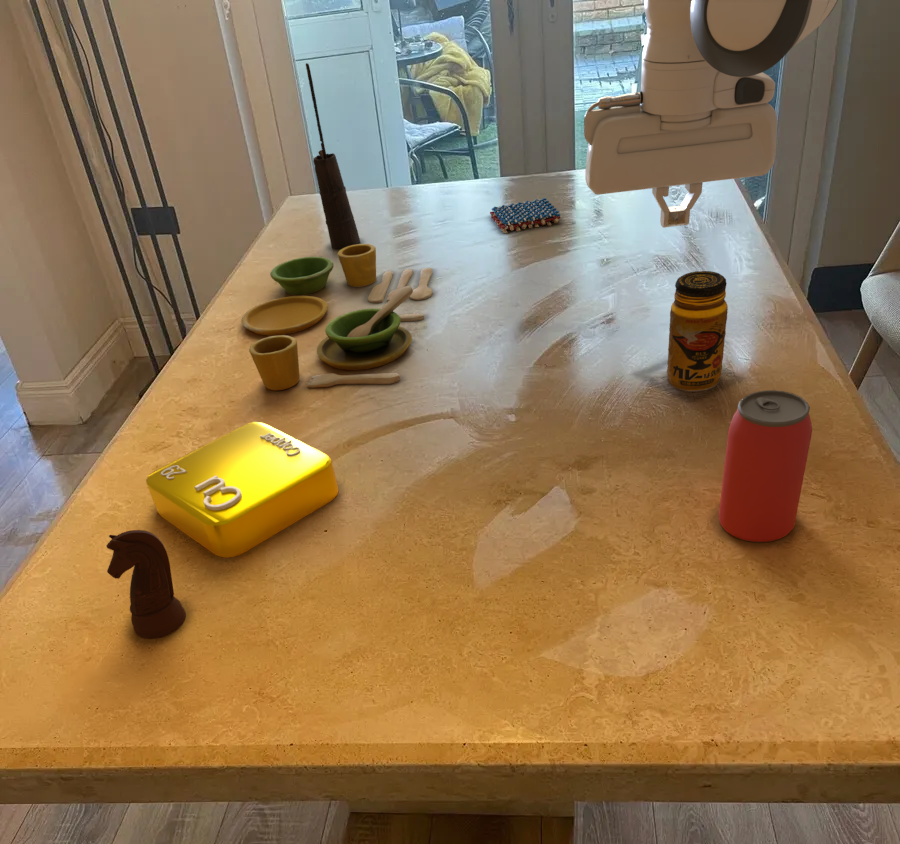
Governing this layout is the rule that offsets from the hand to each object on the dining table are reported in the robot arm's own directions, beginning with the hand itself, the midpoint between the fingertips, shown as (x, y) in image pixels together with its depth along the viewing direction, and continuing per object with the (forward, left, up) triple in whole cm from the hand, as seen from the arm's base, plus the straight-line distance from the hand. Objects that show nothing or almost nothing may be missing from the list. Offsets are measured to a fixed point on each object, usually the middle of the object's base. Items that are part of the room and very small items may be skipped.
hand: (674, 225), depth 97 cm
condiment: (0, +10, -15) cm, 18 cm away
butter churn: (+45, -54, -15) cm, 72 cm away
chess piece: (+55, +44, -15) cm, 72 cm away
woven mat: (+13, -54, -15) cm, 57 cm away
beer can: (+1, +39, -15) cm, 42 cm away
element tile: (+50, +26, -15) cm, 58 cm away
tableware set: (+44, -18, -15) cm, 50 cm away
